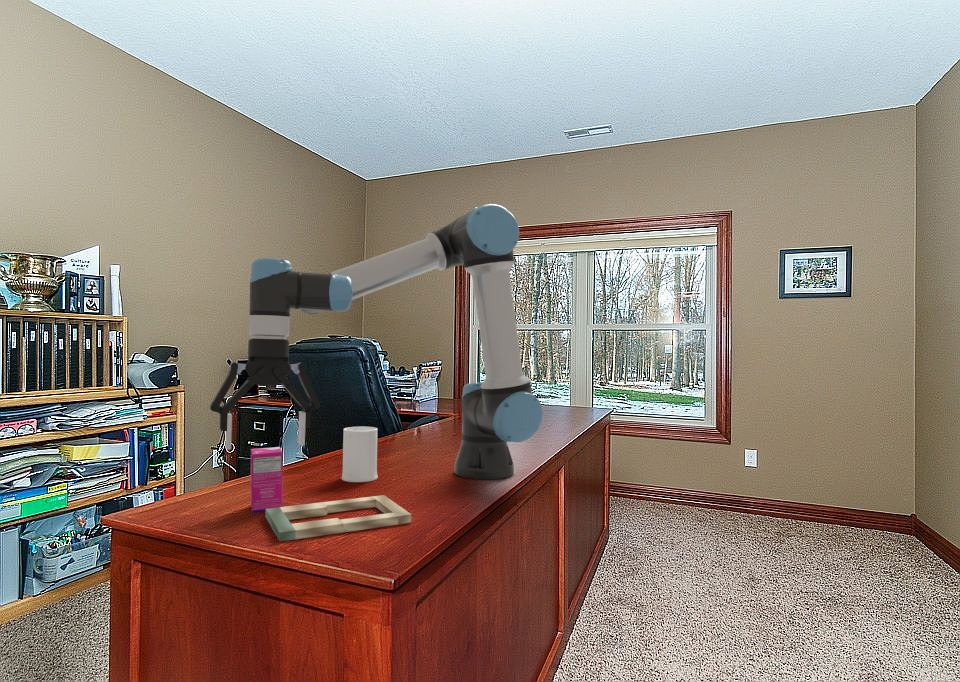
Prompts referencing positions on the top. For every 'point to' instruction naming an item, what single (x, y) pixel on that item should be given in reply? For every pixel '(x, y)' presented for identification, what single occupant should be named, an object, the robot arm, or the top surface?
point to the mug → (359, 454)
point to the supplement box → (266, 479)
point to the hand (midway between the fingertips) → (265, 446)
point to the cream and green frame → (289, 531)
